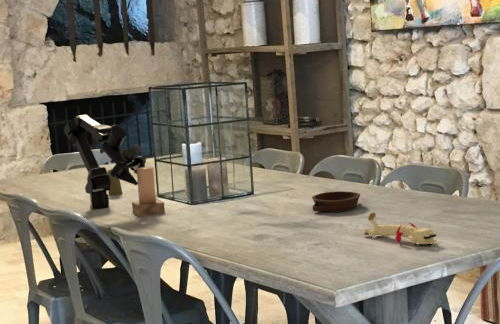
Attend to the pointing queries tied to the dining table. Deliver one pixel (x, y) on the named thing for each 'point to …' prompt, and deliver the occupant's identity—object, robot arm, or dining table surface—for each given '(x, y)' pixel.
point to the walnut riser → (148, 208)
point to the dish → (335, 201)
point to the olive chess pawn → (114, 185)
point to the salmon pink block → (146, 185)
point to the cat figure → (401, 232)
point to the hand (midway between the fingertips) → (143, 182)
